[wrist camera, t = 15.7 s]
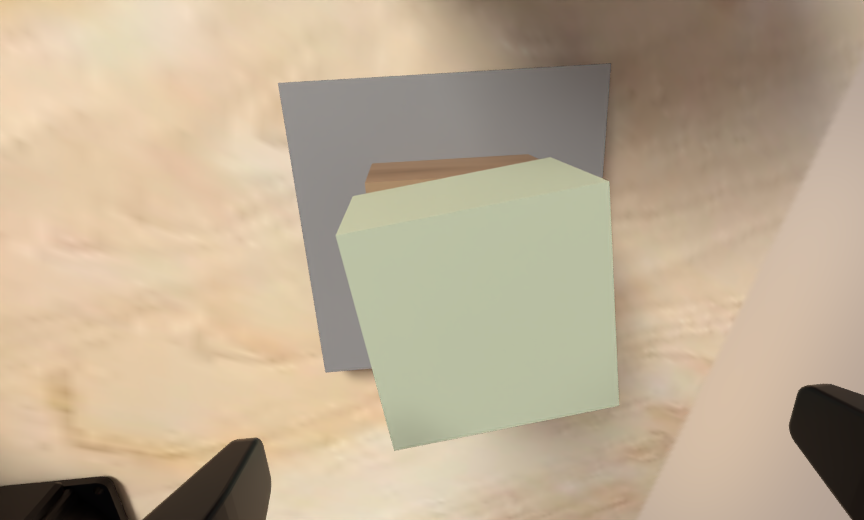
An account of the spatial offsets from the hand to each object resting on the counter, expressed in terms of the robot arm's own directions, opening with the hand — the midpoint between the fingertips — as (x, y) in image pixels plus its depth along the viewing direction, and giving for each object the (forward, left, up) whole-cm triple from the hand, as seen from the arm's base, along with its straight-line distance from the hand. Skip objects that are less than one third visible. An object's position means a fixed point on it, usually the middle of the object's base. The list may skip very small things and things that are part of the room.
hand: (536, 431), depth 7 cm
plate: (0, 0, -13) cm, 13 cm away
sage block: (0, 0, -8) cm, 8 cm away
